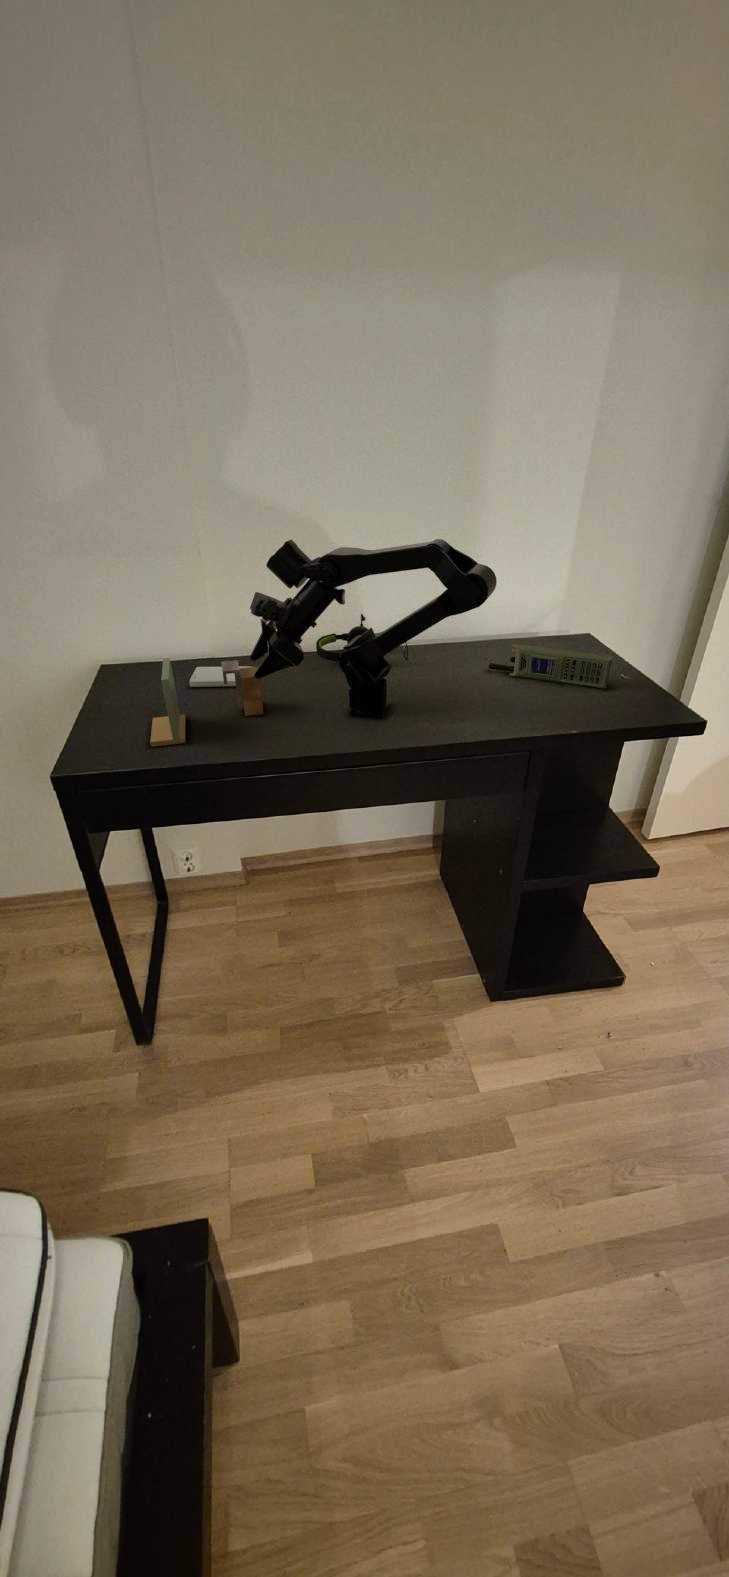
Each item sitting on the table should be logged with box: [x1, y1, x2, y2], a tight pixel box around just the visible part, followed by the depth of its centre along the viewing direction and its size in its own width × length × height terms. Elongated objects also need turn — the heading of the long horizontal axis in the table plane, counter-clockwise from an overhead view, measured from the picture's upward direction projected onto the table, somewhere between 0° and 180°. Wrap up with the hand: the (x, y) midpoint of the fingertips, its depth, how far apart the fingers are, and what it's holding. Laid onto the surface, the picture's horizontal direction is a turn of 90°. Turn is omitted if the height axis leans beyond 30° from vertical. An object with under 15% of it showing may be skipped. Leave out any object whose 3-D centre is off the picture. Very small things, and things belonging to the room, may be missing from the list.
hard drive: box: [189, 666, 248, 688], centre depth 143 cm, size 2×8×12 cm
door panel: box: [149, 658, 187, 747], centre depth 119 cm, size 6×10×12 cm, turn 13°
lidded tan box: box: [221, 659, 264, 717], centre depth 128 cm, size 7×5×10 cm
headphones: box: [315, 613, 409, 662], centre depth 150 cm, size 16×10×20 cm
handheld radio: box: [488, 644, 613, 690], centre depth 140 cm, size 7×3×25 cm
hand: (253, 668), depth 126 cm, fingers open, 9 cm apart
